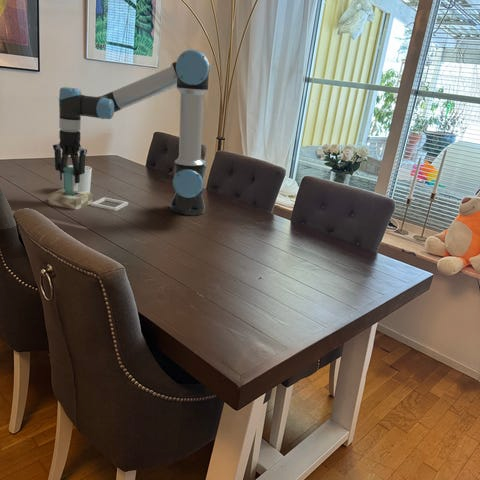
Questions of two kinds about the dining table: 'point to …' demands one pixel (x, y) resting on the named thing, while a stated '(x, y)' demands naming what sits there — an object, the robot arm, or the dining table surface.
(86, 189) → the candle holder
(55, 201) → the beige socket block
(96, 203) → the tray
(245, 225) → the dining table surface
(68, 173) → the plug
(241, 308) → the dining table surface
